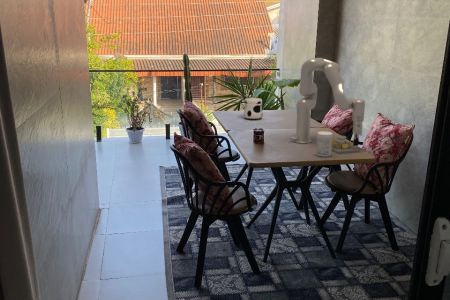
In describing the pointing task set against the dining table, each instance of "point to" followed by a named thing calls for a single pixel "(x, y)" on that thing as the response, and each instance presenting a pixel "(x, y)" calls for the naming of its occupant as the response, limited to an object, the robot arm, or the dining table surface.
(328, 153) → the supplement tub
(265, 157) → the dining table surface
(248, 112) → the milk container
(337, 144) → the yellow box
